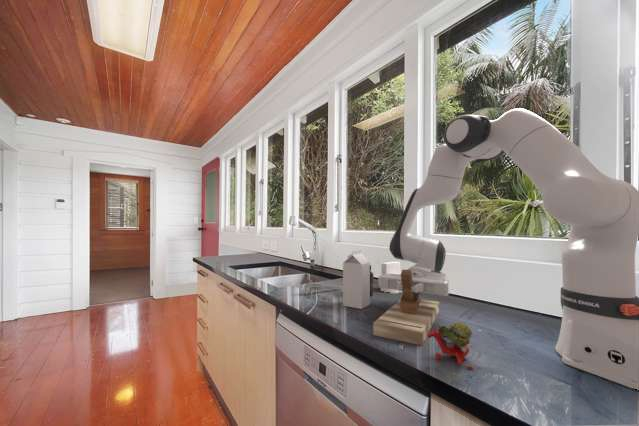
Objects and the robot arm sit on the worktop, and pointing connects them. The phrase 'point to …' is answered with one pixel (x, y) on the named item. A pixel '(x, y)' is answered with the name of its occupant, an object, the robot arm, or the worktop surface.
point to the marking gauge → (409, 294)
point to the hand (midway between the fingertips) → (406, 288)
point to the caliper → (319, 287)
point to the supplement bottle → (371, 282)
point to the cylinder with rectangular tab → (390, 272)
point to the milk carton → (356, 281)
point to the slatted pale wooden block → (407, 323)
